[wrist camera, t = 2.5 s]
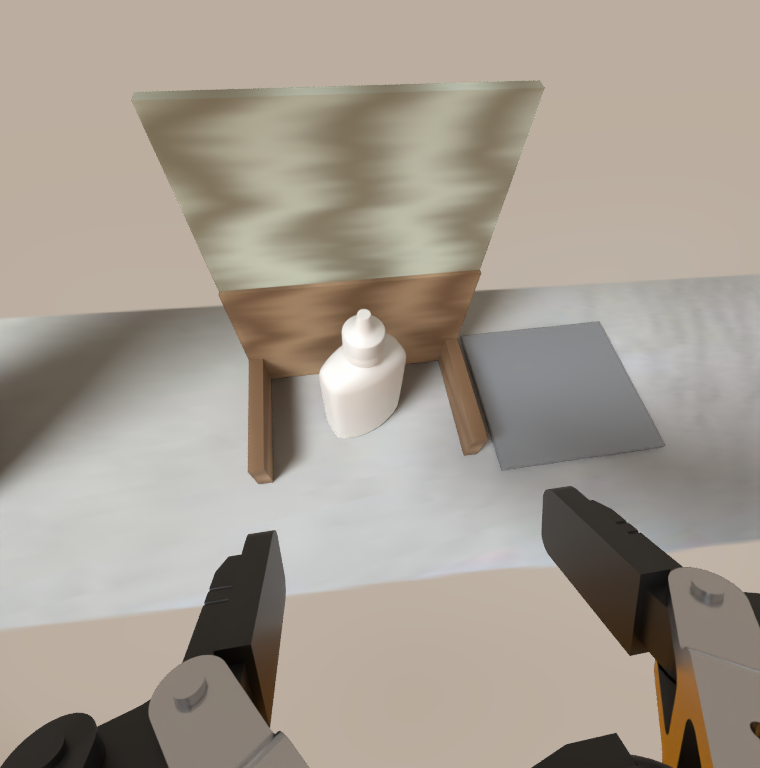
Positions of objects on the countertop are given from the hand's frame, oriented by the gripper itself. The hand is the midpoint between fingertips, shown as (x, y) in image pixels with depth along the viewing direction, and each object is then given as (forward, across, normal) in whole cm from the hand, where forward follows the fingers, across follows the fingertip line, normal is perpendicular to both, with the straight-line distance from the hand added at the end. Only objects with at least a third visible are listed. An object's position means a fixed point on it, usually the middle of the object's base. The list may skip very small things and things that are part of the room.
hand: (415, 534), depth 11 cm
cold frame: (+19, 0, +3) cm, 19 cm away
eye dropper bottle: (+19, 0, +3) cm, 19 cm away
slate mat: (+19, -16, +3) cm, 25 cm away
